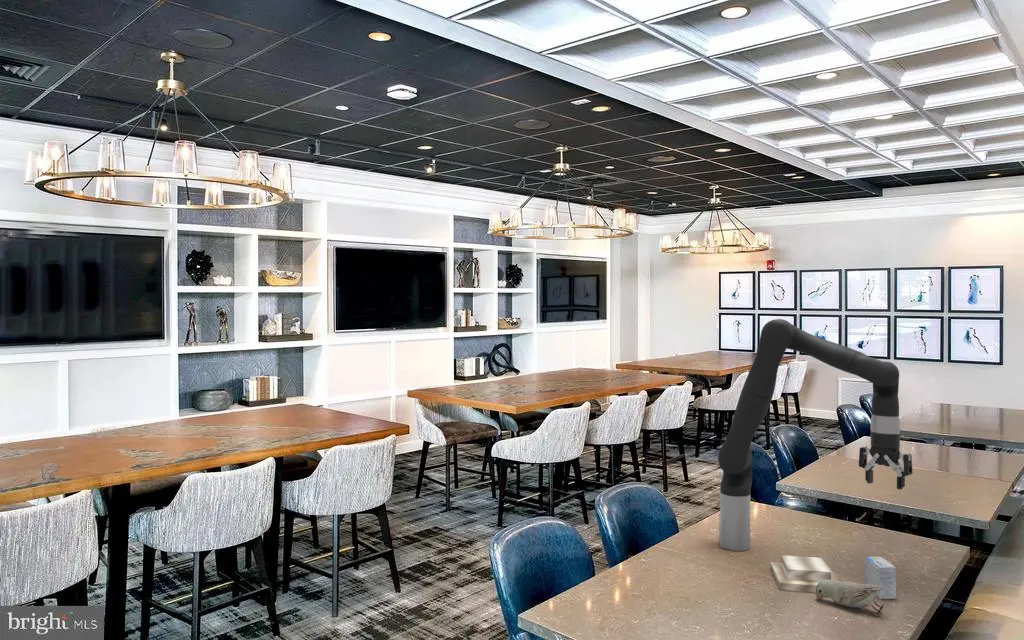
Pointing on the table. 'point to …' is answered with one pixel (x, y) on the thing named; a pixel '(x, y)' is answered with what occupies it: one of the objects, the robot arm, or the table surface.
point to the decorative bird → (848, 593)
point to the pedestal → (800, 573)
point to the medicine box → (881, 576)
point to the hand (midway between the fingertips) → (884, 486)
